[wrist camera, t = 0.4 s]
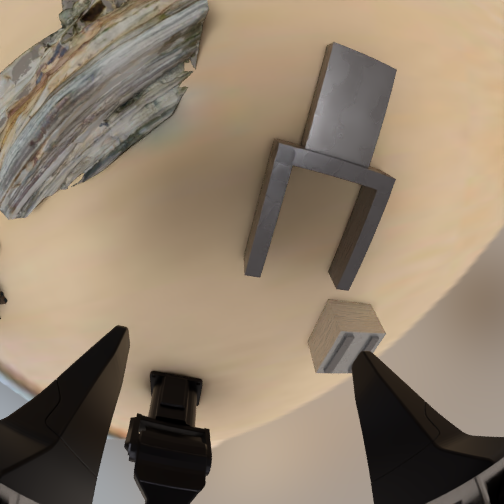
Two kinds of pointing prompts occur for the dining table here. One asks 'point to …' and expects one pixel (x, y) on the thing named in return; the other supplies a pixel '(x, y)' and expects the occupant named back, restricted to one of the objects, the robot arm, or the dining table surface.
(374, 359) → the robot arm
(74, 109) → the rock
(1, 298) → the video game creature
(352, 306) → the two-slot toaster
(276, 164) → the bracket
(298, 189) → the dining table surface
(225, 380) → the dining table surface
